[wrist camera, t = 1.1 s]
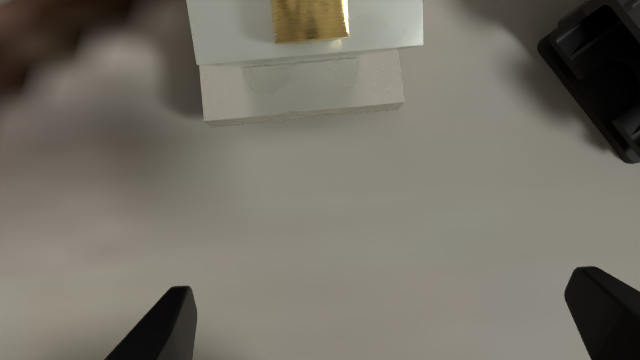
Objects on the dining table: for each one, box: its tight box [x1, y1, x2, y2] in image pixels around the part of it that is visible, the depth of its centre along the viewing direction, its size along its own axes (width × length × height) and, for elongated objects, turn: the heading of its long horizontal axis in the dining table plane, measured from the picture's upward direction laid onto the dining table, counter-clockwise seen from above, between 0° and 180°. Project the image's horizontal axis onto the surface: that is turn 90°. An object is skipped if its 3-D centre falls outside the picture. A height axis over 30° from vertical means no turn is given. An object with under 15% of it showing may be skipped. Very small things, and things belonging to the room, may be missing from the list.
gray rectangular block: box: [199, 50, 405, 128], centre depth 22 cm, size 10×10×3 cm
